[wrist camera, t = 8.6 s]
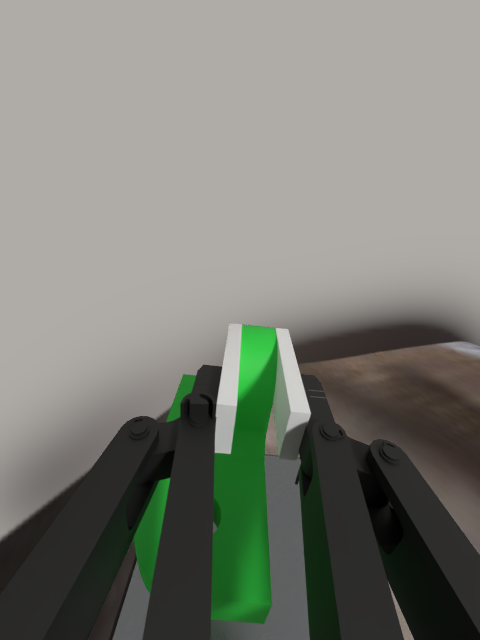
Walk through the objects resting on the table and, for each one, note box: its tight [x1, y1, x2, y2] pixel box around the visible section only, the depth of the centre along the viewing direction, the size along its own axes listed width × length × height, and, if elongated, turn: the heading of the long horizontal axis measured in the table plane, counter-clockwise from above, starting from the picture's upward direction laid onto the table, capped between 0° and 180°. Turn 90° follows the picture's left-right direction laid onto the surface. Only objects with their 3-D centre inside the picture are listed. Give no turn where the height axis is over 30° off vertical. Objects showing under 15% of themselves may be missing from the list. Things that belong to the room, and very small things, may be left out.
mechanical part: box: [133, 324, 277, 624], centre depth 14 cm, size 12×6×8 cm, turn 178°
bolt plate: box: [112, 455, 310, 640], centre depth 20 cm, size 15×17×6 cm
